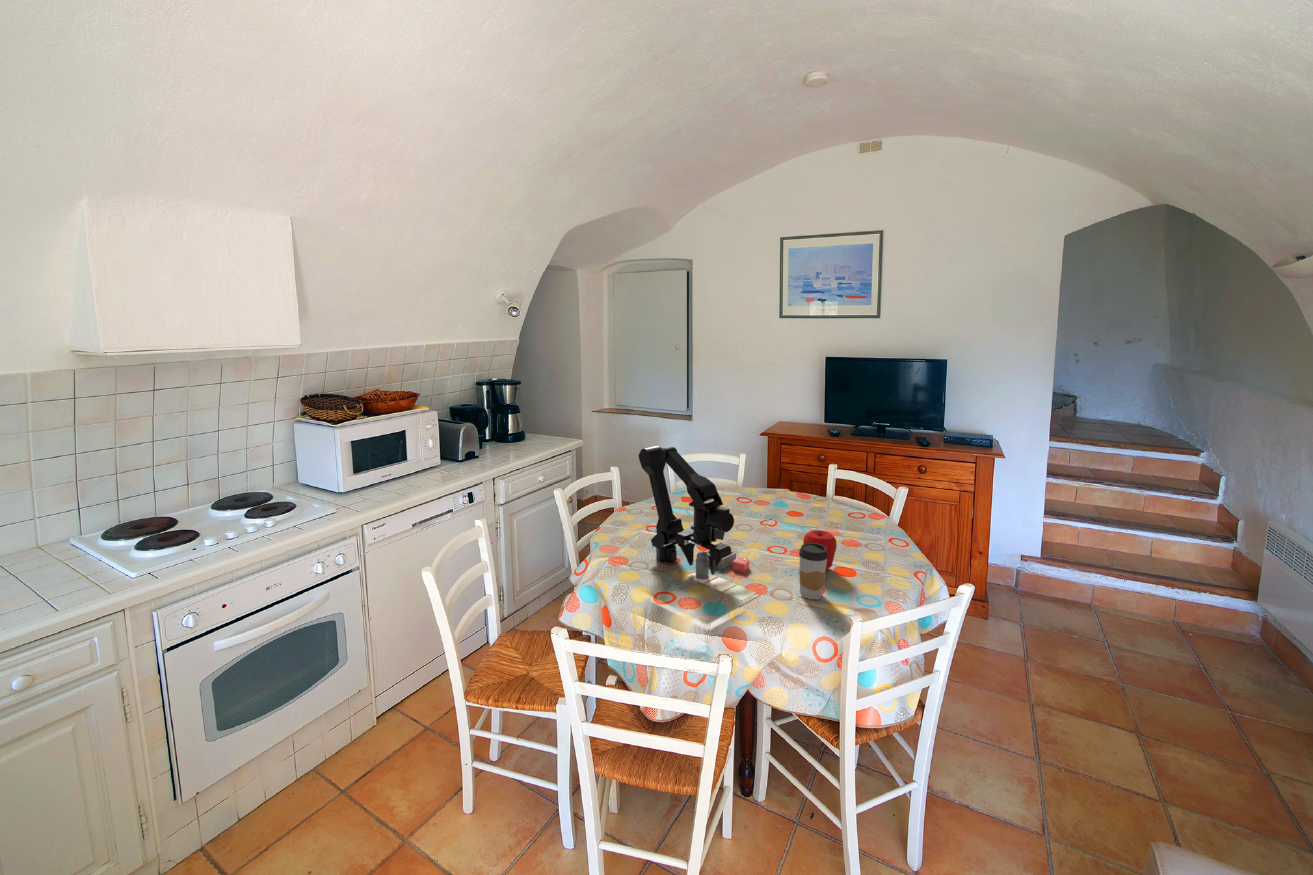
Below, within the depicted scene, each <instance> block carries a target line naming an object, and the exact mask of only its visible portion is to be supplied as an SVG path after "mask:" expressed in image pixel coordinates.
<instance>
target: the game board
mask: <svg viewBox="0 0 1313 875" xmlns="http://www.w3.org/2000/svg"><path fill="white" fill-rule="evenodd" d="M686 577H688V578H690V579H692V580H694V581H696V582H699V583H701V584H704V585H706V586H707V587H710V588H712V589H714V590H717V591H719V592H721V593H724V594H725V595H727V596H730V597H732V598H734V599H737V600H739V601H744V600H746V599H748V598H751V596H753V595H755V594H756V592H754V591H753V590H750V589H748V588H746V587H744V586H742V585H739V584H738V585H737V584H736V583H735V582H732V581H729V580H727V579H725V578H722V577H719V576H717V575H715V574H714V575H712V574H711V572H709V574H708V578H706V579H699V578H697V577H696V571H695V572H693V573H691V574H688V575H686ZM761 596H762V595H761V594H760V595H758V596H756V597H754V598H752V599H750V600H749V601H747V602H745V603H743V604H741V605H740V606H739V608H741V607H742V606H745V605H746V604H749V603H751V602H752V601H753V600H756V599H757V598H759V597H761Z"/></svg>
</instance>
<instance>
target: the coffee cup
mask: <svg viewBox="0 0 1313 875" xmlns="http://www.w3.org/2000/svg"><path fill="white" fill-rule="evenodd" d="M798 555H799V567H798V569H799V571H798V573H799V579H798V580H799V593H800V595H801V597H802V596H803V598H804V597H805V598H804V599H806V598H808V599H807V600H810V599H816V600H818V599H817V598H819V599H820V598H821V597H822V596H823V590H824V586H825V578H826V573H827V570H826V564H827V558H828V551H827V548H826V547H825V546H823V545H821V544H817V543H805V544H801V547H800V548H799V551H798Z"/></svg>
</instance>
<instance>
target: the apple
mask: <svg viewBox="0 0 1313 875" xmlns="http://www.w3.org/2000/svg"><path fill="white" fill-rule="evenodd" d="M805 543H817V544H821V545H823V546H825V547H826V548H827V551H828V558H827V564H826V571H827V570H829V569H830V568H831V567H832V566H833V563H834V559H835V555H836V551H837V545H838V544H837V539H836V537H835V536H834V535H833V533H831V532H829V531H827V530H822V529H812V530H809V531H808V532H806V533H805V535H804V536H803V544H805ZM803 544H802V545H803Z"/></svg>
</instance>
